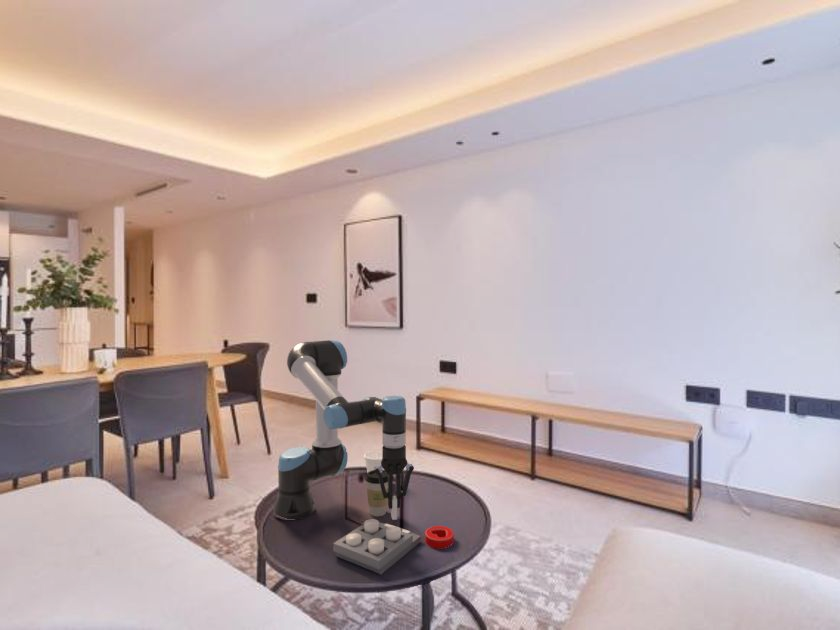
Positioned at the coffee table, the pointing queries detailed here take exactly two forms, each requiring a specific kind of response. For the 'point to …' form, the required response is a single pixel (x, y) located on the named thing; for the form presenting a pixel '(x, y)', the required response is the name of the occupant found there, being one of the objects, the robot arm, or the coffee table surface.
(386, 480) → the coffee cup
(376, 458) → the cup
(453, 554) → the coffee table surface
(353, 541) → the inner button
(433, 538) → the decorative ornament
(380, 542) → the outer button
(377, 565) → the board
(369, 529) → the inner button
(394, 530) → the outer button
